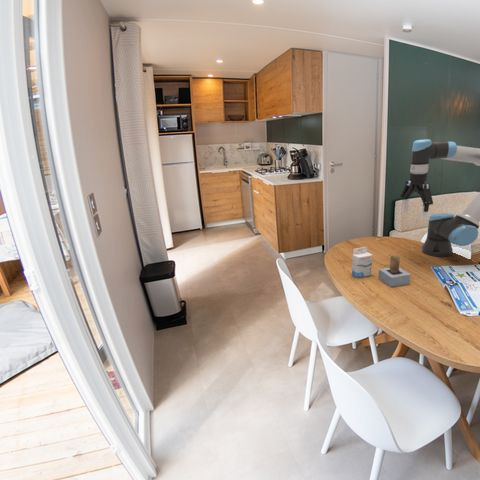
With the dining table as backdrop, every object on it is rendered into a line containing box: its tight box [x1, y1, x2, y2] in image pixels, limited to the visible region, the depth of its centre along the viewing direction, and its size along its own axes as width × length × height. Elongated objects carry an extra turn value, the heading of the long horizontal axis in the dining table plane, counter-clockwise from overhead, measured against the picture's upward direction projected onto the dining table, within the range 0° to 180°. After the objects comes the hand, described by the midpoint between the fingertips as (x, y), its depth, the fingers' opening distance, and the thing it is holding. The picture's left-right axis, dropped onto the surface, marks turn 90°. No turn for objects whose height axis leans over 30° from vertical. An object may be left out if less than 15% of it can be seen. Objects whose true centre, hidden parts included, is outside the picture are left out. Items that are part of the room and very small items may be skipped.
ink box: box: [351, 246, 374, 279], centre depth 156 cm, size 8×5×15 cm, turn 102°
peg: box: [389, 254, 401, 275], centre depth 147 cm, size 4×4×12 cm
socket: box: [378, 266, 411, 288], centre depth 148 cm, size 10×10×5 cm
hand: (413, 214), depth 154 cm, fingers open, 13 cm apart
